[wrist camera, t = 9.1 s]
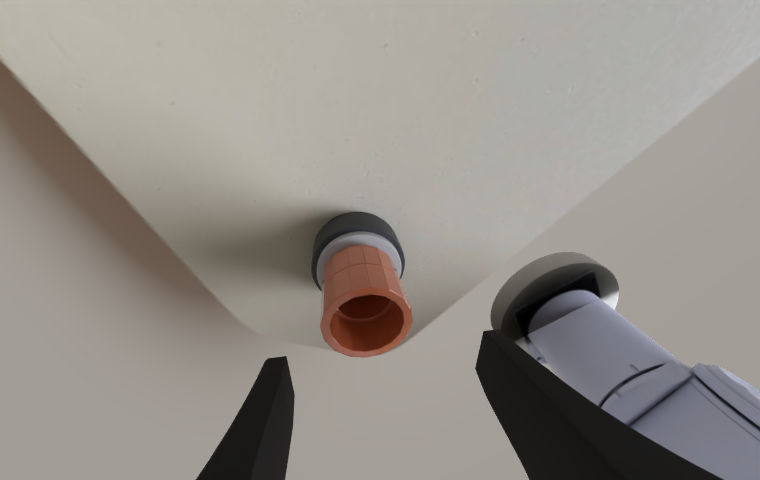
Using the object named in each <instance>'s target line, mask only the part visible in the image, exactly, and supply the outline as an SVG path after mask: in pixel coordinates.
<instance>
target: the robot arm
mask: <svg viewBox="0 0 760 480" xmlns="http://www.w3.org/2000/svg"><path fill="white" fill-rule="evenodd" d="M512 314H513V316H514V318H515V321H516V323H517V325H518V327H519V329H520V332H521V334H522V336H523V338H524V340H525V343H526V345H527V347H528V349H529V351H530V353H531V355H530V354H528V353H527V352H526V351H525V350H523V349H522V348H521V347H520V346H519V345H517V344H516V343H515V342H514V341H513V340H511V339H510V338H509V337H508V336H506V335H505V334H504V333H503V332H501V331H500V330H499V329H497V330H490V331H484V332H483V336H482V341H481V345H480V350H479V354H478V359H477V363H476V368H475V369H476V371H477V374H478V377H479V379H480V382H481V385H482V387H483V389H484V392H485V394H486V396H487V399H488V401H489V402H490V404H491V406H492V408H493V410H494V412H495V414H496V416H497V418H498V419H499V422H500V423H501V425H502V427H503V429H504V431H505V433H506V435H507V436H508V438H509V440H510V442H511V444H512V446H513V448H514V449H515V451H516V453H517V455H518V457H519V459H520V461H521V463H522V465H523V467H524V469H525V471H526V473H527V475H528V477H529V480H760V391H759V390H757V389H755V388H754V387H752V386H751V385H749V384H748V383H746V382H745V381H743V380H741V379H740V378H738V377H737V376H735V375H734V374H732V373H730V372H728V371H727V370H725V369H723V368H721V367H719V366H715V365H705V364H702V363H698V364H697V365H695V366H694V367H693V368H690V367H688V366H686V365H685V364H683V363H682V362H681V361H679V360H678V359H677V358H676V357H674V356H672V354H670V353H669V352H668V351H667V350H665V349H664V348H663V347H661V346H660V345H659V344H658V343H656V342H655V341H654V340H652V339H651V338H650V337H649V336H647V335H646V334H645V333H643V332H642V331H641V330H640V329H638V328H637V327H636V326H634V325H633V324H632V323H631V322H629V321H628V320H627V319H625V318H624V317H623V316H622V315H620V314H619V313H618V312H617V311H615V310H614V309H613V308H611V307H610V306H609V305H608V304H606V303H605V302H604V301H602V299H601V295H600V290H599V285H598V281H597V276H596V273H595V272H594V271H593V270H587V271H585V272H583V273H581V274H580V275H578V276H576V277H574V278H572V279H570V280H568V281H566V282H564V283H562V284H560V285H558V286H557V287H555V288H553V289H551V290H549V291H547V292H545V293H543V294H541V295H539V296H537V297H536V298H534V299H532V300H530V301H528V302H526V303H524V304H522V305H520V306H518V307H516V308H515V309H514V310H513V312H512ZM545 364H548V365H549V366H550V368H551V369H552V370H553V372H554V373H555V374H556V375H557V376H556V375H555V374H553V373H552V372H551V371H550V370H548V369H547V368H546V367H544V366H543V365H545ZM293 415H294V390H293V385H292V381H291V376H290V371H289V366H288V362H287V357H286V356H284V357H277V358H269V359H267V360H266V361H265V362H264V365H263V367H262V369H261V371H260V373H259V375H258V377H257V379H256V381H255V383H254V385H253V387H252V389H251V391H250V393H249V394H248V396H247V398H246V400H245V402H244V404H243V405H242V407H241V409H240V410H239V412H238V414H237V416H236V417H235V419H234V421H233V423H232V425H231V426H230V428H229V429H228V431H227V433H226V434H225V436H224V437H223V439H222V441H221V442H220V444H219V445H218V447H217V448H216V450H215V452H214V453H213V455H212V456H211V458H210V460H209V461H208V462H207V464H206V465H205V467H204V468H203V470H202V471H201V473H200V474H199V476H198V477H197V479H196V480H285V475H286V469H287V463H288V456H289V449H290V442H291V436H292V429H293Z"/></svg>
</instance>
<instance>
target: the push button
mask: <svg viewBox="0 0 760 480" xmlns="http://www.w3.org/2000/svg"><path fill="white" fill-rule="evenodd" d="M354 245H368V246H373V247H377V248H379V249H380V250H382V251H384V252H385V253H387V254H388V255H389V256H390V258H391V259H392V261H393V262H394V264H395V266H396V269H397V272H398V275H399V277H400V279H401V277H402V275H403V271H404V266H405V259H404V254H403V251H402V248H401V246H400V244H399V242H398V239H397V237H396V235H395V233H394V231H393V229H392V228H391V227H390V226H389V225H388V224H387V223H386V222H385V221H384V220H383V219H381V218H379V217H377V216H375V215H372V214H368V213H362V212H353V213H347V214H343V215H340V216H338V217H336V218H334V219H332V220H331V221H329V222H328V223H327V224H326V225H325V226H323V228H322V229H321V230H320V232H319V233H318V235H317V237H316V239H315V242H314V248H313V257H312V275H313V278H314V281H315V283H316V285H317V286H318V288H319V289H320V290H321V291H322V277H323V272H324V268H325V266H326V264H327V263H328V262H329V260H330V259H331V258H332V256H334V254H336V253H338V252H339V251H341V250H343V249H344V248H347V247H350V246H354Z"/></svg>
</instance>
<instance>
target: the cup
mask: <svg viewBox="0 0 760 480" xmlns="http://www.w3.org/2000/svg"><path fill="white" fill-rule="evenodd" d="M411 324H412V311H411V307H410V304H409V301H408V299H407V296H406V293H405V291H404V288H403V285H402V283H401V280H400V277H399V275H398V272H397V269H396V266H395V264H394V262H393V261H392V259H391V258H390V256H389V255H388V254H387V253H385V252H384V251H382V250H380V249H379V248H377V247H373V246H368V245H354V246H350V247H347V248H344V249H343V250H341V251H339V252H338V253H336V254H334V256H332V258H331V259H330V260H329V262H328V263H327V264H326V266H325V268H324V272H323V277H322V299H321V322H320V328H321V331H322V335H323V338H324V340H325V341H326V342H327V343H328V344H329V345H330V346H331V347H332V348H333V349H334V350H335V351H337V352H339V353H342V354H344V355H347V356H350V357H370V356H375V355H380V354H383V353H385V352H387V351H389V350H390V349H392V348H394V347H396V346H397V345H398V344H399V343H400V342H401V341H402V340H403V339H404V338H405V337H406V336H407V334H408V332H409V330H410V327H411Z"/></svg>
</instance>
